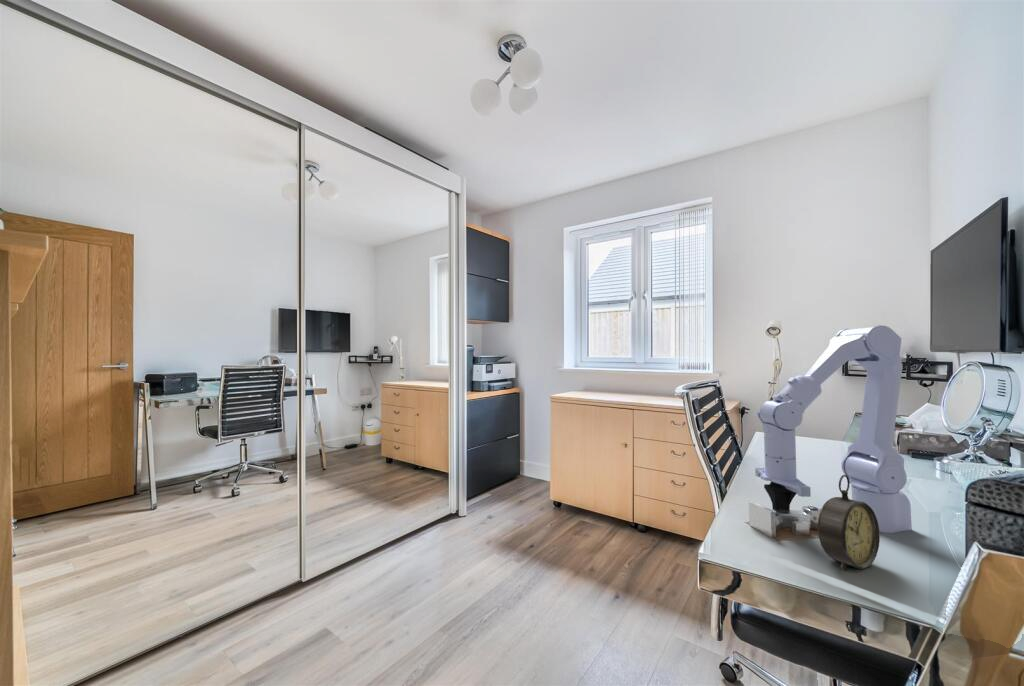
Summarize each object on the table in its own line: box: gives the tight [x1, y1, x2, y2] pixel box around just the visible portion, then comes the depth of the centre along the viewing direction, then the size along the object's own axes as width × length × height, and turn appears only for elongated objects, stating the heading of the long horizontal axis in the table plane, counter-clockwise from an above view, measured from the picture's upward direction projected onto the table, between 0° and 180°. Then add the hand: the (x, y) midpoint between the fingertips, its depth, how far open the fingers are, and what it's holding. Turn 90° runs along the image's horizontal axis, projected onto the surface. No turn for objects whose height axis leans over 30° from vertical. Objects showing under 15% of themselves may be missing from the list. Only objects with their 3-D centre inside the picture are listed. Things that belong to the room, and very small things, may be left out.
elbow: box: [772, 505, 822, 530], centre depth 83 cm, size 10×4×4 cm, turn 87°
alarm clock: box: [818, 474, 880, 571], centre depth 69 cm, size 11×5×16 cm, turn 114°
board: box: [744, 521, 819, 542], centre depth 82 cm, size 17×9×1 cm, turn 98°
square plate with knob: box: [748, 500, 809, 538], centre depth 82 cm, size 9×6×5 cm, turn 98°
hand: (781, 519), depth 85 cm, fingers closed, pressing on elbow
